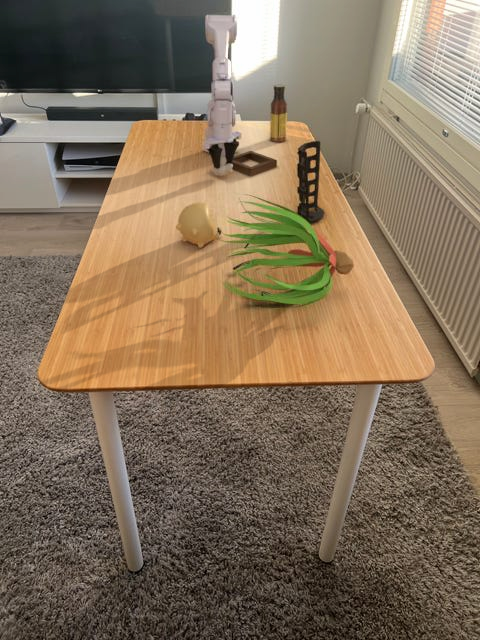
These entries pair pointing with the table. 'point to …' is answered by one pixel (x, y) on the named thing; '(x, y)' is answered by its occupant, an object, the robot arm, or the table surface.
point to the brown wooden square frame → (264, 161)
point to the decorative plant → (289, 256)
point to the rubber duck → (223, 167)
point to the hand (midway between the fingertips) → (222, 165)
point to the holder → (308, 182)
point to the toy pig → (198, 224)
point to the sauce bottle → (278, 115)
